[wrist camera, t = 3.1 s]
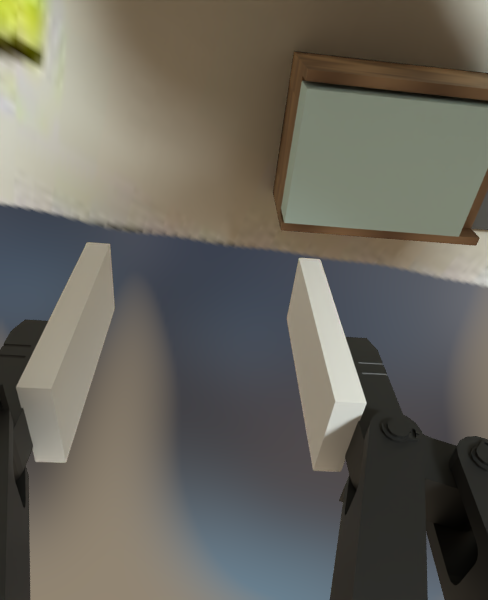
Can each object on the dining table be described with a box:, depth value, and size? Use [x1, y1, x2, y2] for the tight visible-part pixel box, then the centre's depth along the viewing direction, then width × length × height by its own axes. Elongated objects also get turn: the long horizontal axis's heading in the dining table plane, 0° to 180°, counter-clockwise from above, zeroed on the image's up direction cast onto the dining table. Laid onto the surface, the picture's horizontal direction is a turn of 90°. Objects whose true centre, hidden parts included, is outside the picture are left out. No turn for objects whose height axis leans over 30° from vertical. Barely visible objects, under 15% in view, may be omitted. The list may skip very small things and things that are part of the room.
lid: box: [281, 81, 488, 237], centre depth 29 cm, size 12×8×2 cm
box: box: [273, 52, 488, 245], centre depth 32 cm, size 14×10×6 cm
